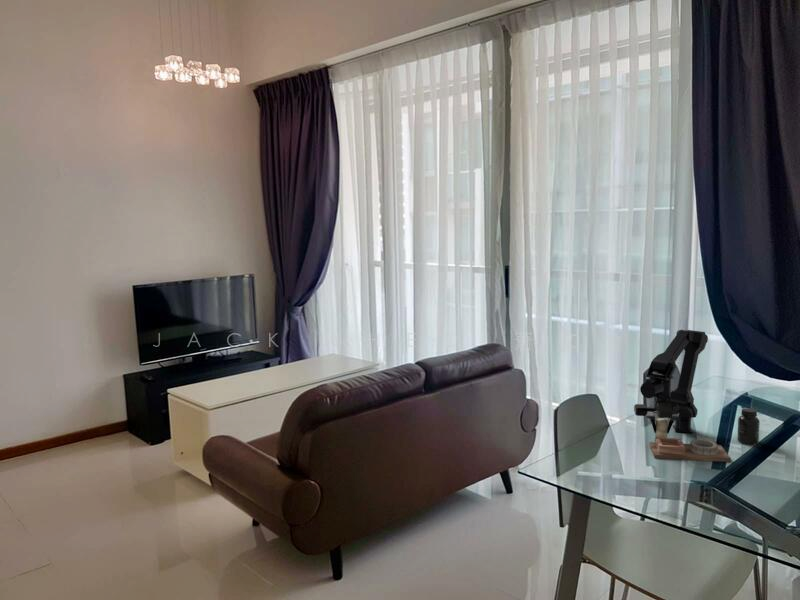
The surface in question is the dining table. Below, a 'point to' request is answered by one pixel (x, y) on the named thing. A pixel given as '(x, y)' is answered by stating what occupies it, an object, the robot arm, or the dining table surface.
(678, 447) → the socket board
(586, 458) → the dining table surface
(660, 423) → the round peg
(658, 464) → the dining table surface
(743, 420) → the supplement bottle
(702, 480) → the dining table surface
